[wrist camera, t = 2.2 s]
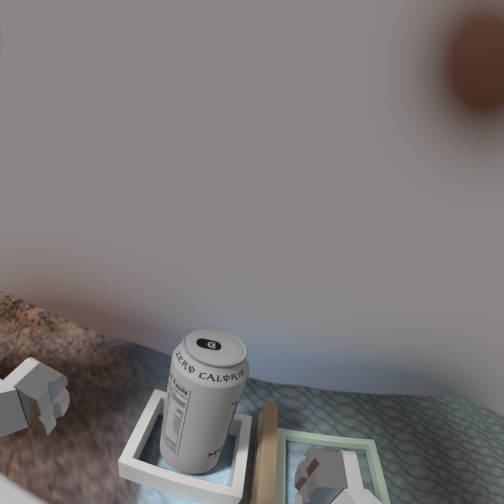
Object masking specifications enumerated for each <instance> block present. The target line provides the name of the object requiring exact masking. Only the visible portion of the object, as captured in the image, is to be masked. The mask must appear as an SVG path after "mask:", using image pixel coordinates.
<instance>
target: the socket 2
mask: <svg viewBox="0 0 504 504" xmlns="http://www.w3.org/2000/svg"><path fill="white" fill-rule="evenodd" d="M286 440H287V441H293V442H300V443H307V444H314V445H322V446H331V447H340V448H352V449H365V451H366V455H367V460H368V464H369V468H370V473H371V477H372V482H373V486H374V491H375V496H376V498H377V499H378V500H379V501H380V502H381V503H382V504H390V500H389V496H388V492H387V487H386V483H385V479H384V476H383V472H382V468H381V464H380V460H379V456H378V453H377V449H376V445H375V442H374V440H370V439H358V438H347V437H338V436H329V435H322V434H315V433H308V432H301V431H295V430H289V429H284V428H278V427H277V456H276V483H275V504H285V452H286Z"/></svg>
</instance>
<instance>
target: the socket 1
mask: <svg viewBox="0 0 504 504" xmlns="http://www.w3.org/2000/svg"><path fill="white" fill-rule="evenodd" d="M166 393H167V392H164V391H161V390H158V389H155V390H154V392H153V394H152V396H151V398H150V400H149V402H148V404H147V405H146V407H145V409H144V411H143V413H142V415H141V417H140V419H139V421H138V423H137V425H136V427H135V429H134V431H133V433H132V435H131V437H130V439H129V441H128V443H127V445H126V447H125V449H124V451H123V453H122V455H121V457H120V459H119V461H118V465H119V476H120V477H123V478H125V479H128V480H130V481H133V482H135V483H138V484H141V485H144V486H146V487H149V488H152V489H155V490H158V491H161V492H164V493H168V494H171V495H174V496H178V497H181V498H185V499H188V500H192V501H196V502H200V503H204V504H238V503H239V502H240V500H241V499H242V494H243V486H244V479H245V471H246V463H247V455H248V446H249V438H250V430H251V421H252V416H249V415H244V414H240V413H236V412H235V415H234V418H233V421H232V423H231V426H230V429H229V432H228V435H232V436H236V439H235V445H234V451H233V457H232V463H231V469H230V475H229V481H228V486H225V485H221V484H217V483H212V482H208V481H204V480H200V479H197V478H193V477H189V476H186V475H182V474H179V473H176V472H172V471H169V470H166V469H163V468H160V467H157V466H154V465H151V464H148V463H145V462H143V461H140V460H139V458H140V455H141V453H142V451H143V449H144V446H145V444H146V442H147V440H148V437H149V435H150V433H151V431H152V429H153V426H154V424H155V422H156V420H157V418H158V415H162V416H163V415H164V407H165V400H166Z"/></svg>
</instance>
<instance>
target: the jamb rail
mask: <svg viewBox="0 0 504 504" xmlns="http://www.w3.org/2000/svg"><path fill="white" fill-rule="evenodd" d="M277 423H278V404H276V403H271V402H267V401H265V403H264V406H263V408H262V411H261V413H260V415H259V418H258V420H257V429H256V439H255V449H254V459H253V468H252V478H251V487H250V496H249V504H275V483H276V456H277Z"/></svg>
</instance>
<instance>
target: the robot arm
mask: <svg viewBox="0 0 504 504" xmlns="http://www.w3.org/2000/svg"><path fill="white" fill-rule="evenodd" d="M1 47H2V31H1V25H0V53H1ZM67 384H68V382H67V377H66V376H65V375H63V374H61V373H59V372H58V371H56V370H54V369H52V368H50V367H48V366H47V365H45V364H43V363H41V362H39V361H38V360H36V359H34V358H32V357H30V358H27V359H26V360H25V361H24V362H23V363H21V364H20V365H19V366H18V367H17V368H16V369H15V370H14V371H13V372H11V373H10V374H9V375H8V376H7V377H6V378H5V379H4V380H2V379H0V438H1V437H4V436H6V435H9V434H11V433H14V432H16V431H19V430H21V429H24V428H26V427H28V426H30V427H32V428H34V429H35V430H37V431H39V432H41V433H43V434H44V435H46V436H48V435H49V434H50V432H51V431H52V430H53V428H54V427H55V426H56V418H59V417H62V416H63V415H64V414H65V412H66V411H67V408H68V406H69V401H70V396H69V392H68V391H67V389H66V388H65V386H66V385H67ZM295 487H296V488H297V490H298V493H297V494H296V495H295V504H382V503H381V502H380V501H379V500H378V499H377V498H376V497H375V496H374V495H373V494H372V493H371V492H370V491H369V490H368V489H364V487H363V482H362V477H361V473H360V468H359V464H358V459H357V455H356V453H355V452H354V451H339V450H330V449H319V448H310V449H309V450H308V451H307V453H306V459H305V460H303V461H301V462H300V464H299V466H298V467H297V470H296V473H295ZM0 504H49V503H48V502H46V501H44V500H42V499H41V498H39V497H37V496H36V495H34V494H33V493H31V492H29V491H28V490H26V489H25V488H23V487H22V486H20V485H19V484H17V483H16V482H14V481H13V480H12V479H10V478H9V477H7V476H6V475H5V474H3V473H2V472H0Z"/></svg>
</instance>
